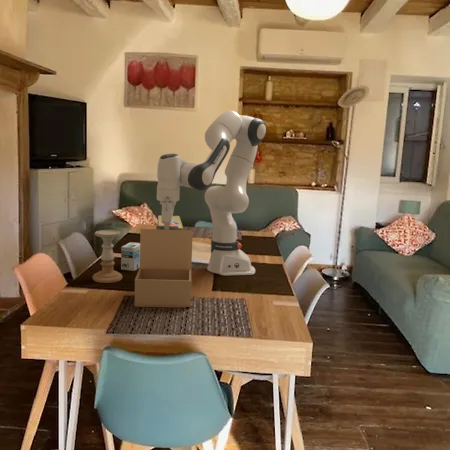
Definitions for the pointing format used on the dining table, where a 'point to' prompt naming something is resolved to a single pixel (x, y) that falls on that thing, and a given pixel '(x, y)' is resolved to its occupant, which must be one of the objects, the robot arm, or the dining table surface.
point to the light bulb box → (130, 256)
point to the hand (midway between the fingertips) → (167, 230)
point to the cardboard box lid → (166, 248)
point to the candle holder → (107, 258)
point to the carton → (163, 287)
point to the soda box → (172, 222)
